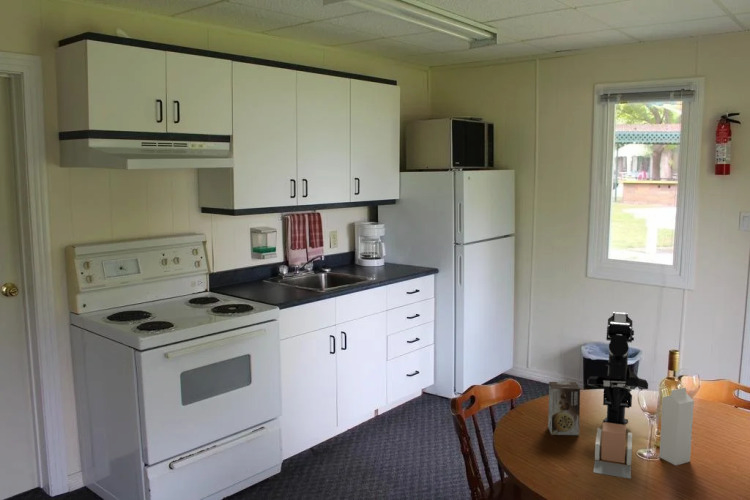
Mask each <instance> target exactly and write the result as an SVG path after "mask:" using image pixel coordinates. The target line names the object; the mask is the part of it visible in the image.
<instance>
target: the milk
mask: <svg viewBox="0 0 750 500" xmlns="http://www.w3.org/2000/svg"><path fill="white" fill-rule="evenodd" d="M686 391H687V388H686V387H682V388H676V389H672V390H671V391H670V395H667V396H663V397H662V403H661V405H662V406H661V420H660V421H661V422H660V439H659V456H658V457H659V458H661V459H662V460H664V461H666V462H668V463H670V464H672V465H673V466H679V465H683V464H686V463H690V462H691V453H692V452H691V451H692V434H693V420H694V418H693V416H694V402H695V401H694V399H692V397H691V396H690V395H689V394H688V393H687V392H686Z"/></svg>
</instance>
